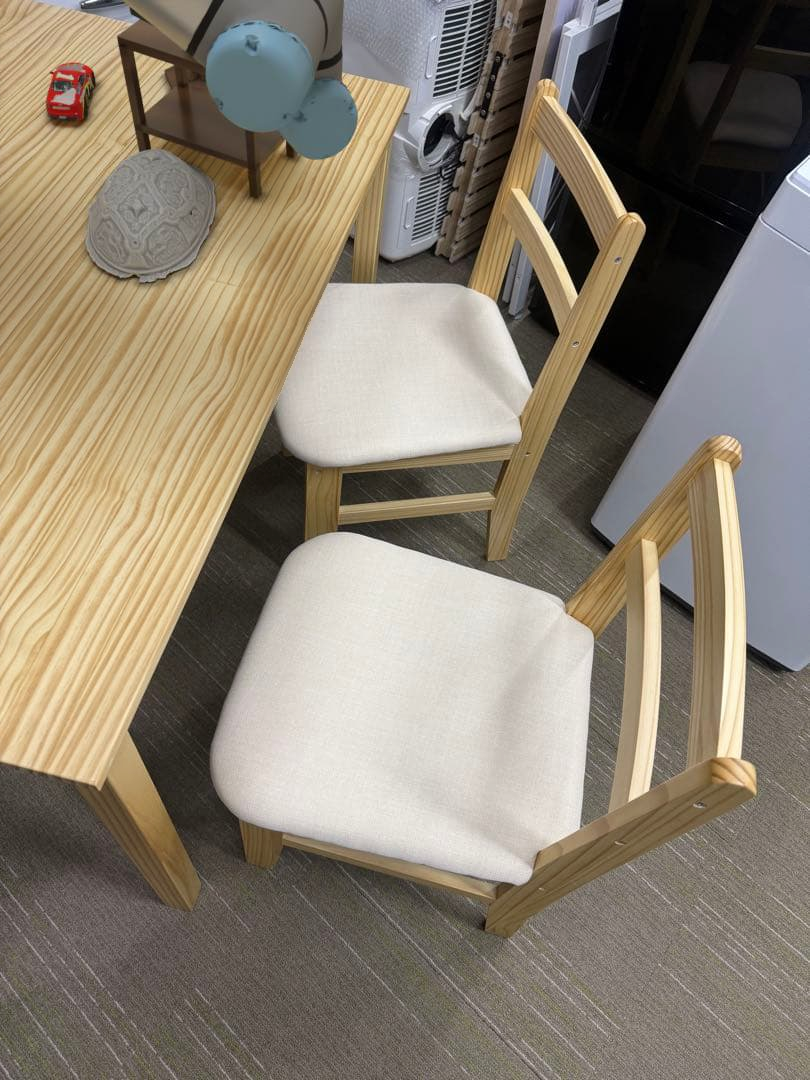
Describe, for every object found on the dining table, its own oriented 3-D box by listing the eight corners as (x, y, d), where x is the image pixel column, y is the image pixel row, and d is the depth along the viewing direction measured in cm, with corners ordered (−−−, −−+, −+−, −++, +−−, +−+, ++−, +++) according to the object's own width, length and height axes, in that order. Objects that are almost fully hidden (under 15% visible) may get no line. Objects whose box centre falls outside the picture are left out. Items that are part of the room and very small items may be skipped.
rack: (257, 199, 105) (250, 80, 92) (140, 158, 107) (116, 35, 94) (297, 154, 111) (295, 37, 98) (185, 116, 113) (169, -4, 100)
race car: (62, 75, 116) (54, 46, 112) (99, 78, 116) (93, 50, 113) (43, 125, 108) (35, 96, 105) (84, 128, 109) (77, 99, 106)
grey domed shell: (227, 163, 107) (217, 116, 101) (196, 292, 95) (182, 247, 89) (116, 160, 107) (99, 113, 101) (71, 289, 95) (49, 244, 89)
